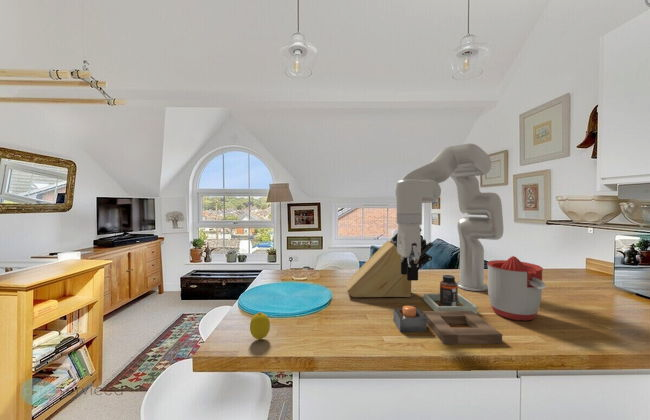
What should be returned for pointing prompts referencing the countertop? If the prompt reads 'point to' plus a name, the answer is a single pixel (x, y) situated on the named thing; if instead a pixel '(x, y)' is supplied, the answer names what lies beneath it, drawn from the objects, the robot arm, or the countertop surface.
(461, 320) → the square frame
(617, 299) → the countertop surface
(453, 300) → the supplement bottle
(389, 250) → the knife block
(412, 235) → the robot arm
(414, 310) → the button
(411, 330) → the button housing
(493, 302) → the citrus juicer
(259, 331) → the lemon
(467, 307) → the ring
